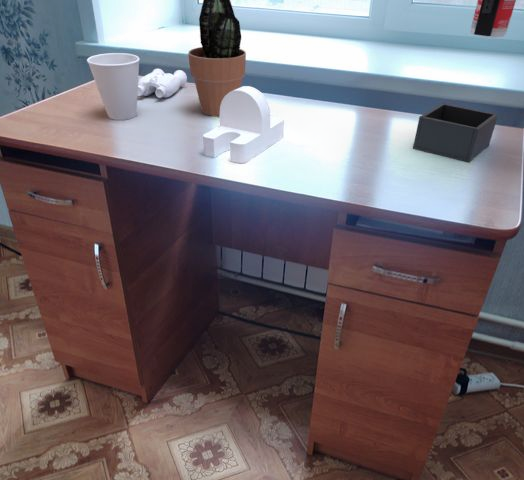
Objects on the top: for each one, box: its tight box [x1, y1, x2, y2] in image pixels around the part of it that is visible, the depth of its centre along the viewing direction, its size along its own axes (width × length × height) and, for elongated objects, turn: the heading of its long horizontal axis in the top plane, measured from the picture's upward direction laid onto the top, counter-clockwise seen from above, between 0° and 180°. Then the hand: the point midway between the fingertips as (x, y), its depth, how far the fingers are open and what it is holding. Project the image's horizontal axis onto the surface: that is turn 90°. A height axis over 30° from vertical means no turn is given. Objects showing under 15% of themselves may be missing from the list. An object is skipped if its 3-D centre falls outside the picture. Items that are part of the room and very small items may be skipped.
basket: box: [412, 102, 499, 163], centre depth 109 cm, size 13×13×7 cm
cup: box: [86, 52, 141, 121], centre depth 120 cm, size 12×12×12 cm
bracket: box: [202, 85, 285, 164], centre depth 106 cm, size 19×10×11 cm, turn 152°
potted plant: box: [187, 0, 247, 117], centre depth 120 cm, size 14×14×25 cm
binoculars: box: [137, 68, 188, 99], centre depth 138 cm, size 10×16×5 cm, turn 168°
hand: (488, 32), depth 90 cm, fingers closed on pill bottle, 6 cm apart
